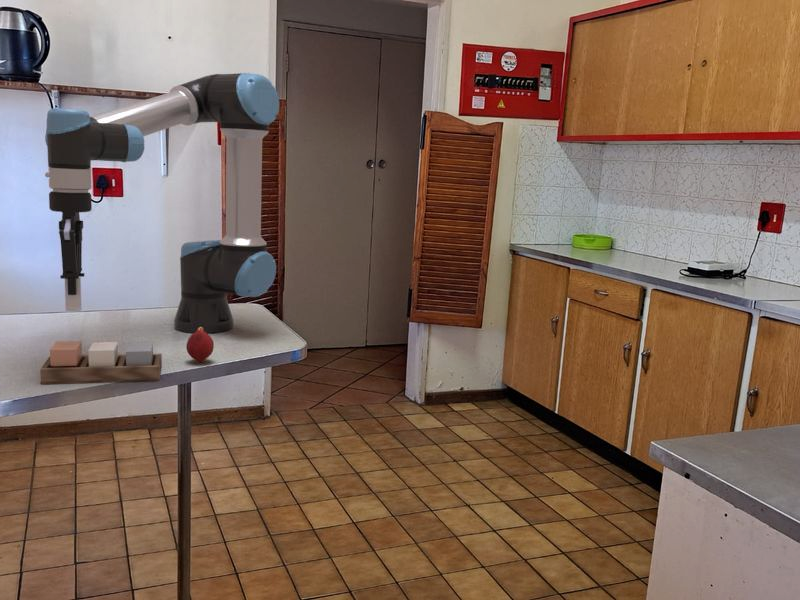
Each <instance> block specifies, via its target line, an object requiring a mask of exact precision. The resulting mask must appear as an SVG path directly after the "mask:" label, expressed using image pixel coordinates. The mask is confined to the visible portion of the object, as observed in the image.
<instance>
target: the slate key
mask: <svg viewBox="0 0 800 600" xmlns="http://www.w3.org/2000/svg"><path fill="white" fill-rule="evenodd" d="M125 354H126V366H150V365H152V361H153V354H154V342H132V343H131V342H129V343H128V345H127V347H126V350H125Z"/></svg>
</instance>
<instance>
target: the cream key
mask: <svg viewBox="0 0 800 600" xmlns="http://www.w3.org/2000/svg"><path fill="white" fill-rule="evenodd" d="M87 353H88V354H87V355H89V367H103V366H115V364H116V361H117V359H118V354H119V343H118V341H100V342H99V341H98V342H96V341H94V342H92V344H91V345H90V347H89V348H88V352H87Z"/></svg>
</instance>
